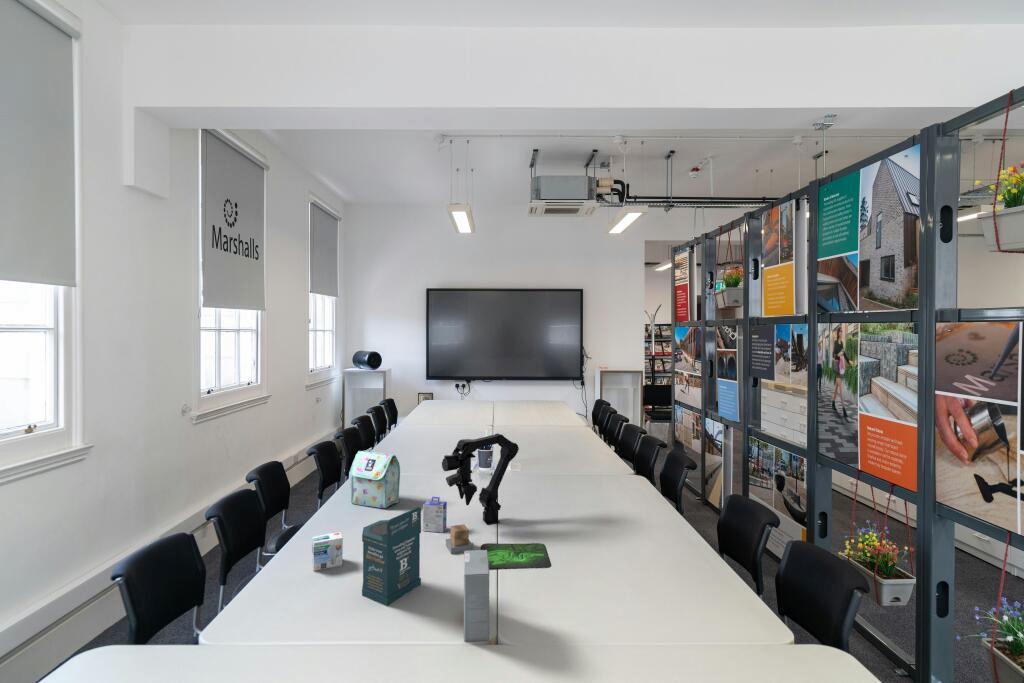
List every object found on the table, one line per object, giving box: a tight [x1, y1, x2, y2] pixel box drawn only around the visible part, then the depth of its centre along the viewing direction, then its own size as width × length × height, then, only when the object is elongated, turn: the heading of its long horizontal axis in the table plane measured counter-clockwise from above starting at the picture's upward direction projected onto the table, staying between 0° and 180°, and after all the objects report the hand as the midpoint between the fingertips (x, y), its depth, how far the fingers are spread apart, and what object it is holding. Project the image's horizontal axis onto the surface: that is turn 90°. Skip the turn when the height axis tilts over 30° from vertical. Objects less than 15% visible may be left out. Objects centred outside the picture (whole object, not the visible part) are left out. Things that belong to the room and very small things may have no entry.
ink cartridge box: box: [422, 496, 448, 533], centre depth 221 cm, size 10×6×14 cm, turn 81°
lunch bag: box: [349, 450, 401, 509], centre depth 255 cm, size 23×16×27 cm
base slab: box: [445, 538, 474, 555], centre depth 203 cm, size 9×9×3 cm
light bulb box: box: [311, 531, 344, 572], centre depth 187 cm, size 11×7×11 cm, turn 117°
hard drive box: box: [463, 549, 490, 642], centre depth 149 cm, size 16×8×20 cm, turn 5°
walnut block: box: [449, 523, 470, 546], centre depth 202 cm, size 6×6×6 cm
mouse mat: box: [480, 542, 552, 570], centre depth 196 cm, size 27×22×1 cm
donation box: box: [361, 506, 422, 607], centre depth 170 cm, size 16×16×28 cm
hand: (464, 501), depth 223 cm, fingers open, 9 cm apart
